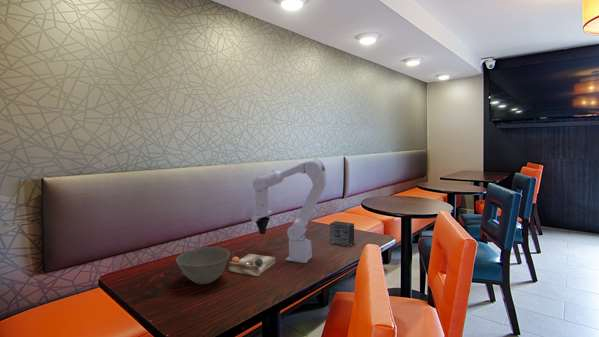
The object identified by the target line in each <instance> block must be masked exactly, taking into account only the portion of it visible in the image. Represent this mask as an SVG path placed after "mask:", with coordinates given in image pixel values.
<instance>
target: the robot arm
mask: <svg viewBox="0 0 599 337" xmlns="http://www.w3.org/2000/svg"><path fill="white" fill-rule="evenodd" d="M298 173H300V174H306V175H307V176H308V177H309V178H310V180H311V182H312V187H311V189H310V191H309V193H308V195H307V197H306V199H305V201H304V203H303V205H302V207H301V209H300V210H299V213H298V215H297V217H296V219H295V220H294V221H293V223H292V225H291V226H289V227H288V228H287V230H286V235H287V238H288V256H287V257H286V258H285V261H290V262H297V263H302V264H303V263H304V264H306V263H308V261H309V260H311V258H313V254H312V251H313V250H312V249H313V247H312V241H311V239H307V238H306V235H305V233H306V231H307V226H308V223H309V220H310V217H311V215H312V214H313V211H314V210H315V208H316V205H317V203H318V202H319V200H320V198H321V196H322V194H323V192H324V189H325V188H326V186H327V177H326V167H325V165H324V163H323V162H322V160H321V159H313V160H309V161H305V162H301V163H298V164H296V165H292V166H290V167H289V168H286V169H284V170H282V171H281V170H279V169H276V170H275V169H273V170H271V172H269V173H263V174H261V176H259V177H256V178H255V179H254V180H253V181H252V187H253V188H254V189H253V190H254V201H255V203H254V204H255V206H254V207H255V208H254V209H255V212H254V213H253V216H251V222H252V223H253V222H254V223H255V224H256V225H257V226H256V227H257V228H258V232H259V235H265V234H266V232H267V227H268V224H269V222H270V219H271V217H270V216H271V215H272V214H273V212H272V211H273V210H270V209H269V188H270V187H273V186H276V185H279V184H281V183H283V182H284V179H285V178H288V177H290V176H293V175H296V174H298Z"/></svg>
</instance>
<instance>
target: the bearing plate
mask: <svg viewBox="0 0 599 337" xmlns="http://www.w3.org/2000/svg"><path fill="white" fill-rule="evenodd" d="M258 258H260V259H262V261H263V264H262V265H261V266H256V264H255V261H256V259H258ZM276 260H277V257H275V256H268V255H261V254H254V253H248V254H246V255H245V256H243V257H241V258H239V263H235V262H232V261H229V262H228V270H229V271H228V272H232V273H237V274H242V275H243V274H245V275H248V276H255V277H258V276H259V277H260V275H262V274H263V273H264V272H265V271H266V270H268V269H269V268H271V266H273V265H274V264H275V263H277V261H276ZM245 262H250V263H251V265H247V264H244V263H245Z"/></svg>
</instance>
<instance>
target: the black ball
mask: <svg viewBox="0 0 599 337" xmlns="http://www.w3.org/2000/svg"><path fill="white" fill-rule="evenodd" d="M255 264H256V266H261V265H262V264H263V261H262V259H260V258H258V259H256V261H255Z"/></svg>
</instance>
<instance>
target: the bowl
mask: <svg viewBox="0 0 599 337" xmlns="http://www.w3.org/2000/svg"><path fill="white" fill-rule="evenodd" d="M230 255H231V252H230V250H228V248H227V249H226V248H223V247H218V246H203V247H197V248H193V249H189V250H186V251H184V252H181V253H180V254H179V255H178V256H177V257H176V258H175V262H176V264H177V265H178V267H179V269H180V270H181V272H182V273H183V274H184V275H185V277H187V278H188V280H190V281H192V282H193V283H196V284H197V285H198V284H199V285H209V284H211V283H213V282H215V281H216V280H217V279H218V278H219V277H220V276H221V275H222V274H223V272H224V270H225V268H226V267H227V263H228V261H229V258H230V257H231V256H230Z"/></svg>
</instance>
